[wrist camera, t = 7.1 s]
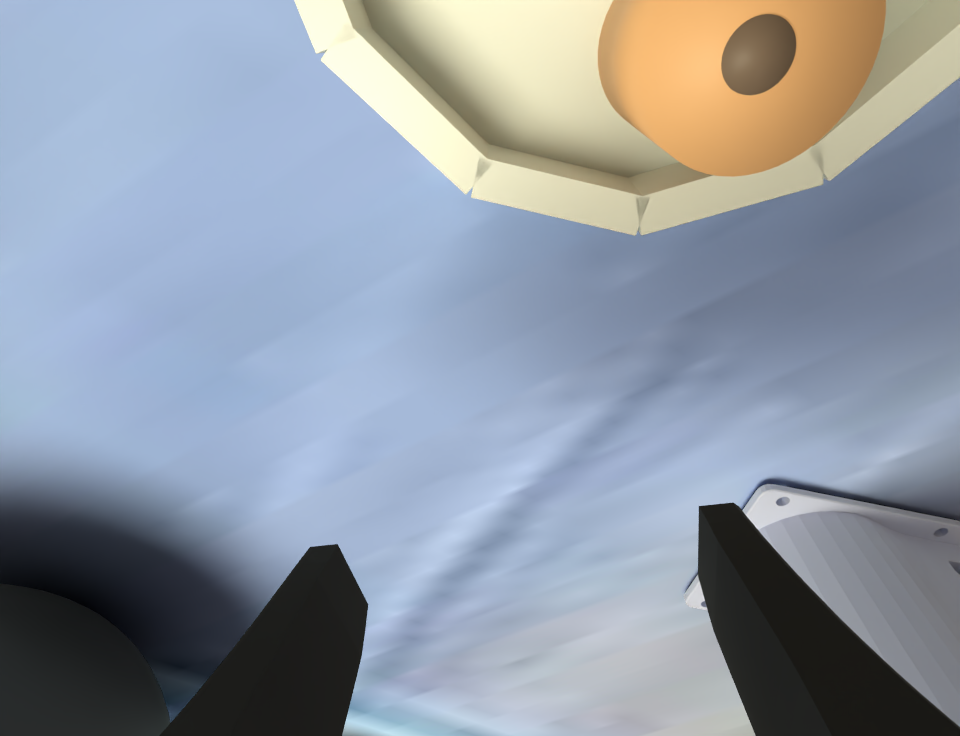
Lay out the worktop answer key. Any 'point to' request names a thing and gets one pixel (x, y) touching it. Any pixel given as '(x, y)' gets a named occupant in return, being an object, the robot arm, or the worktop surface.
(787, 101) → the bead
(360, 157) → the worktop surface
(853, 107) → the tray
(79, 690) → the bowl of black rocks
